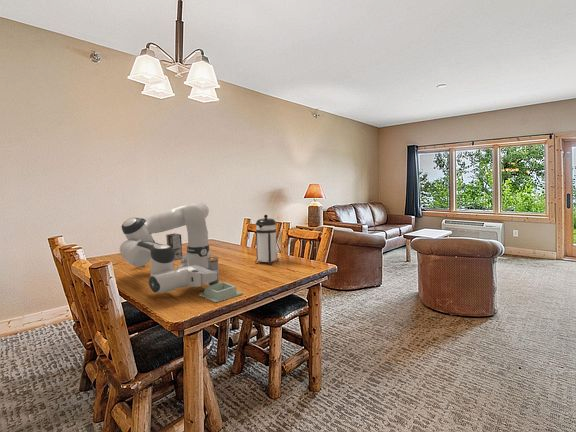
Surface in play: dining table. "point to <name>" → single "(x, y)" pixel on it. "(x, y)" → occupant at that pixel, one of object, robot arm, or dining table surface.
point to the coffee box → (175, 244)
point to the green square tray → (220, 292)
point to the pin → (213, 267)
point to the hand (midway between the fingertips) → (215, 269)
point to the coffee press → (266, 240)
